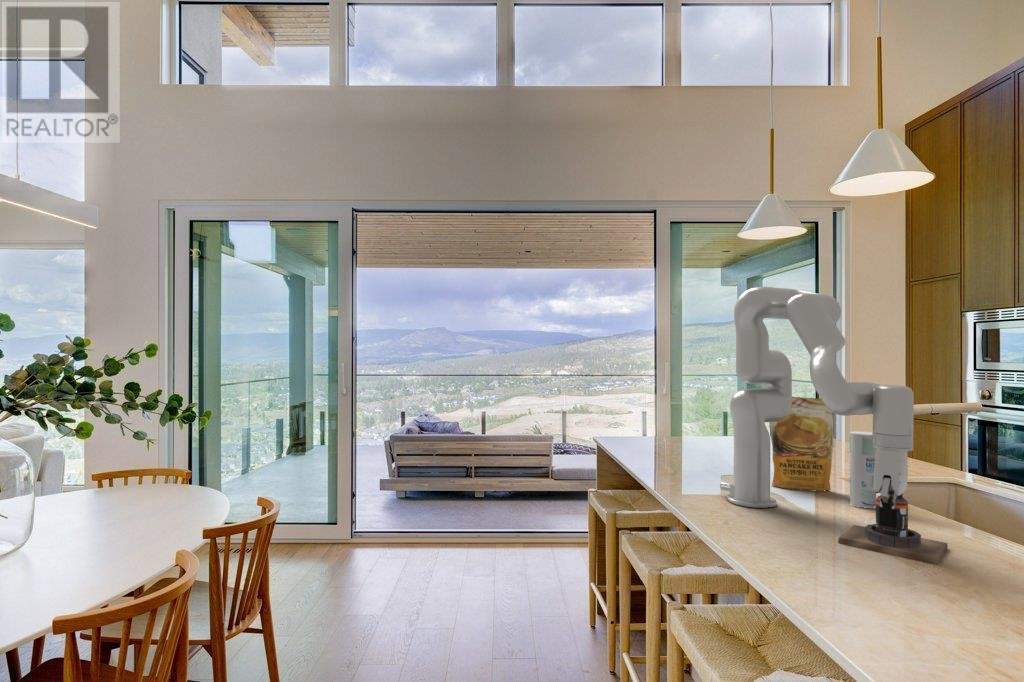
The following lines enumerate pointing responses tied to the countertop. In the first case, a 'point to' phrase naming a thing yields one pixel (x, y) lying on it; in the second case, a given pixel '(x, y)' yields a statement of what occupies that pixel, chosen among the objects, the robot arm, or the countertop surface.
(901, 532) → the supplement bottle
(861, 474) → the spray can
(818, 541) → the countertop surface
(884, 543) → the bottle holder
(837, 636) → the countertop surface
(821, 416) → the pancake mix bag
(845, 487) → the countertop surface
